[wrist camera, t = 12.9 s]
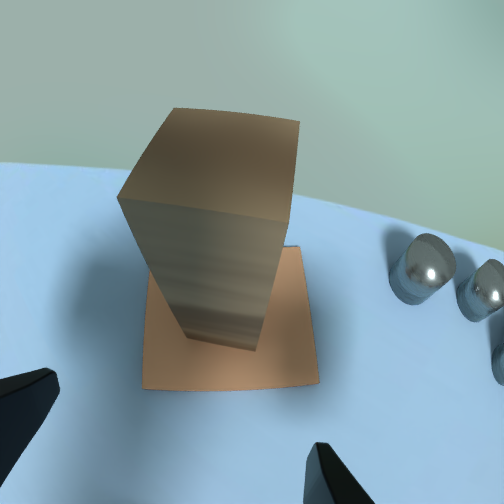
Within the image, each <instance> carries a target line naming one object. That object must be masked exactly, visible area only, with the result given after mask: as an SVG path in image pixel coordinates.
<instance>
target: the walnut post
mask: <svg viewBox="0 0 504 504" xmlns="http://www.w3.org/2000/svg"><path fill="white" fill-rule="evenodd" d="M299 124H300V121H294V120H289V119H282V118H276V117H270V116H262V115H255V114H246V113H237V112H227V111H217V110H205V109H189V108H173V110H172V111H171V113H170V114H169V115H168V117H167V118H166V120H165V121H164V122H163V124H162V125H161V127H160V128H159V130H158V131H157V133H156V134H155V136H154V137H153V139H152V140H151V142H150V143H149V145H148V146H147V148H146V149H145V151H144V152H143V154H142V156H141V157H140V159H139V160H138V162H137V164H136V165H135V167H134V168H133V170H132V172H131V173H130V175H129V177H128V178H127V180H126V182H125V184H124V185H123V187H122V189H121V191H120V192H119V194H118V196H117V199H118V202H119V204H120V206H121V209H122V211H123V213H124V216H125V218H126V220H127V222H128V225H129V227H130V229H131V231H132V233H133V236H134V238H135V240H136V242H137V244H138V246H139V248H140V250H141V253H142V255H143V257H144V259H145V261H146V263H147V265H148V267H149V269H150V271H151V273H152V275H153V277H154V279H155V281H156V283H157V285H158V287H159V289H160V290H161V292H162V294H163V296H164V298H165V300H166V302H167V304H168V305H169V307H170V309H171V311H172V313H173V315H174V316H175V318H176V320H177V322H178V324H179V325H180V327H181V329H182V331H183V332H184V334H185V336H186V338H189V339H193V340H198V341H202V342H207V343H212V344H217V345H222V346H227V347H232V348H237V349H243V350H249V351H254V352H255V351H256V347H257V344H258V340H259V337H260V333H261V329H262V326H263V322H264V318H265V314H266V311H267V307H268V303H269V299H270V296H271V292H272V288H273V284H274V280H275V276H276V272H277V269H278V265H279V261H280V257H281V253H282V249H283V245H284V241H285V237H286V233H287V229H288V224H289V218H290V209H291V201H292V192H293V183H294V174H295V165H296V155H297V146H298V135H299Z"/></svg>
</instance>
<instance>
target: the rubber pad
mask: <svg viewBox="0 0 504 504" xmlns="http://www.w3.org/2000/svg"><path fill="white" fill-rule="evenodd" d="M318 383H320V382H319V374H318V365H317V357H316V349H315V342H314V334H313V327H312V320H311V313H310V306H309V299H308V293H307V286H306V280H305V274H304V268H303V262H302V256H301V250H300V247H283V249H282V253H281V257H280V261H279V265H278V269H277V272H276V276H275V280H274V284H273V288H272V292H271V296H270V299H269V303H268V307H267V311H266V314H265V318H264V322H263V326H262V329H261V333H260V337H259V340H258V344H257V347H256V351H255V352H254V351H249V350H243V349H237V348H232V347H227V346H222V345H217V344H212V343H207V342H202V341H198V340H193V339H189V338H186V336H185V334H184V332H183V331H182V329H181V327H180V325H179V324H178V322H177V320H176V318H175V316H174V315H173V313H172V311H171V309H170V307H169V305H168V304H167V302H166V300H165V298H164V296H163V294H162V292H161V290H160V289H159V287H158V285H157V283H156V281H155V279H154V277H153V275H152V273H151V271H150V272H149V281H148V291H147V301H146V313H145V327H144V344H143V367H142V389H149V390H169V391H238V390H258V389H272V388H284V387H295V386H304V385H313V384H318Z"/></svg>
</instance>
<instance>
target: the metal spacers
mask: <svg viewBox="0 0 504 504" xmlns="http://www.w3.org/2000/svg"><path fill="white" fill-rule="evenodd" d="M455 271H456V262H455V258H454V255H453V253H452V251H451V249H450V248H449V246H448V245H447V244H446V243H445V242H444V241H443V240H442V239H440V238H439V237H437V236H435V235H432V234H428V233H425V234H421V235H419V236H417V237H416V238H415V240H414V241H413V242H412V243H411V245H410V246H409V247H408V248H407V250H406V251H405V252H404V253H403V255H402V256H401V257H400V258H399V259H398V261H397V262H396V263H395V264H394V265H393V267H392V268H391V270H390V274H389V281H390V285H391V288H392V290H393V292H394V293H395V295H396V296H397V297H398V298H399V299H400V300H401V301H403V302H404V303H407V304H410V305H419V304H421V303H423V302H424V301H425V300H427V299H428V298H429V297H430V296H432V295H433V294H434V293H435V292H436V291H438V290H439V289H440V288H441V287H442V286H443V285H445V284H446V283H447V282H448V281H449V280H450V279H451V278H452V277H453V276H454V274H455ZM457 302H458V305H459V308H460V310H461V312H462V313H463V315H464V316H465V317H466V318H467V319H468V320H470V321H472V322H479V321H481V320H483V319H484V318H486V317H487V316H489V315H490V314H492V313H494V312H495V311H497V310H498V309H500V308H501V307H503V306H504V265H503V264H502V263H500V262H499V261H497V260H495V259H489V260H488V261H486V262H485V263H484V264H483V265H482V266H481V267H480V268H479V269H478V270H476V271H475V272H474V273H473V274H472V275H471V276H470V277H468V278H467V279H466V280H465V281H464V282H462V283H461V284H460V285H459V287H458V290H457ZM492 370H493V374H494V377H495V379H496V381H497V382H498V383H499V384H500V385H503V386H504V343H502V344H500V345H498V346H497V347H496V349H495V351H494V353H493V357H492Z"/></svg>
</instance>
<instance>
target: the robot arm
mask: <svg viewBox="0 0 504 504" xmlns="http://www.w3.org/2000/svg"><path fill="white" fill-rule="evenodd" d="M59 392H60V387H59V382H58V378H57V374H56V372H55V371H53V370H51V369H49V368H42V369H38V370H34V371H31V372H27V373H23V374H19V375H15V376H11V377H7V378H3V379H0V487H1V486H2V484H3V482H4V481H5V479H6V478H7V476H8V474H9V473H10V471H11V470H12V468H13V467H14V465H15V463H16V462H17V460H18V459H19V457H20V456H21V454H22V453H23V451H24V450H25V448H26V447H27V445H28V444H29V442H30V441H31V440H32V438H33V437H34V435H35V434H36V432H37V431H38V429H39V428H40V427H41V425H42V424H43V422H44V420H45V418H46V417H47V415H48V413H49V411H50V409H51V407H52V406H53V404H54V402H55V400H56V399H57V397H58V395H59ZM303 504H375V503H374V501H373V500H372V499H371V498H370V496H369V495H368V494H367V493H366V491H365V490H364V489H363V488H362V486H361V485H360V484H359V483H358V481H357V480H356V479H355V478H354V476H353V475H352V474H351V472H350V471H349V470H348V468H347V467H346V466H345V465H344V463H343V462H342V461H341V459H340V458H339V457H338V455H337V454H336V453H335V451H334V450H333V449H332V447H331V446H330V445H329V444H328V443H323V442H316V443H315V444H314V445H313V447H312V449H311V451H310V453H309V455H308V457H307V461H306V473H305V486H304V498H303Z"/></svg>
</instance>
